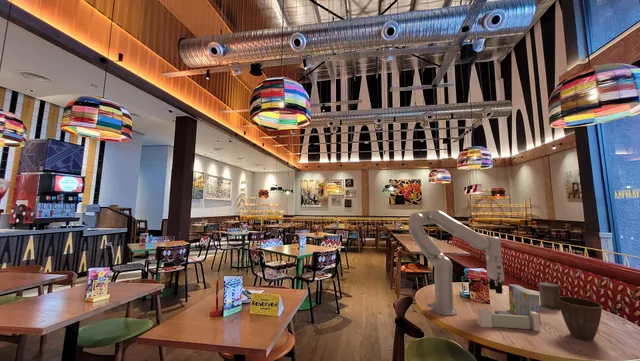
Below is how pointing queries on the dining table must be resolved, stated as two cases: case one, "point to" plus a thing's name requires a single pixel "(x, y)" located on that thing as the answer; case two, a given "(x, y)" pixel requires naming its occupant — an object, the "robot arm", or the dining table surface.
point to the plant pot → (580, 316)
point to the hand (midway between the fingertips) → (495, 291)
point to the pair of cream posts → (486, 319)
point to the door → (511, 321)
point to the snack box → (523, 301)
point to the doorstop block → (502, 312)
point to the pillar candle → (549, 295)
